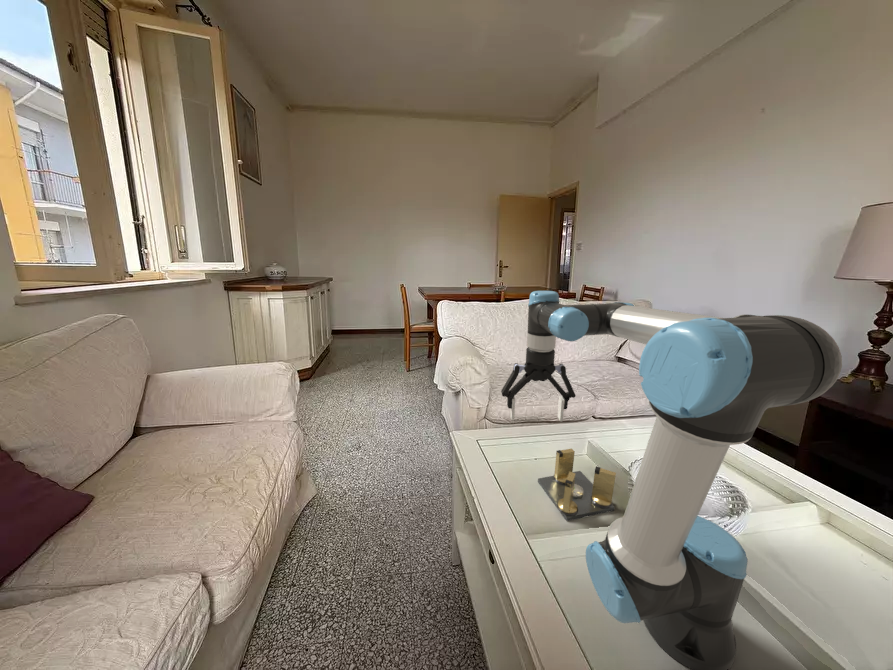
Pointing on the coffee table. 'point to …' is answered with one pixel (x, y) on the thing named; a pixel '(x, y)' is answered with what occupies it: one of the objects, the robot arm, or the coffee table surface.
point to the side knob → (603, 486)
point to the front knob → (568, 496)
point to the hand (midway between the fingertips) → (536, 418)
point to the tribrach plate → (574, 496)
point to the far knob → (563, 464)
